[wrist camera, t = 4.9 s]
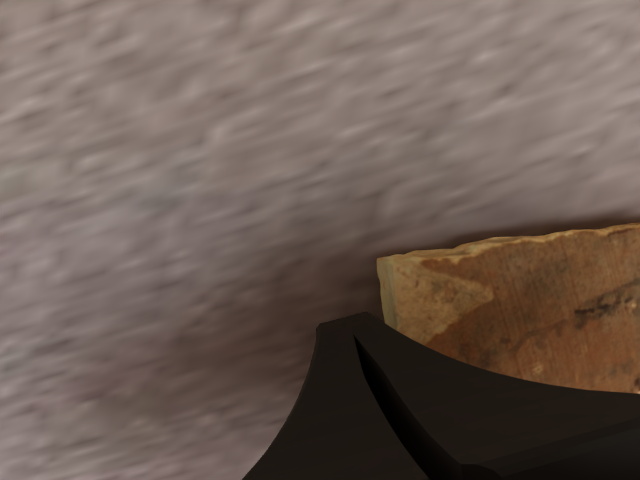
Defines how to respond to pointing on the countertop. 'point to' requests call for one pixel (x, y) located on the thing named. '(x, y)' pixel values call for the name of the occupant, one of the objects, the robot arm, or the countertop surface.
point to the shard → (527, 305)
